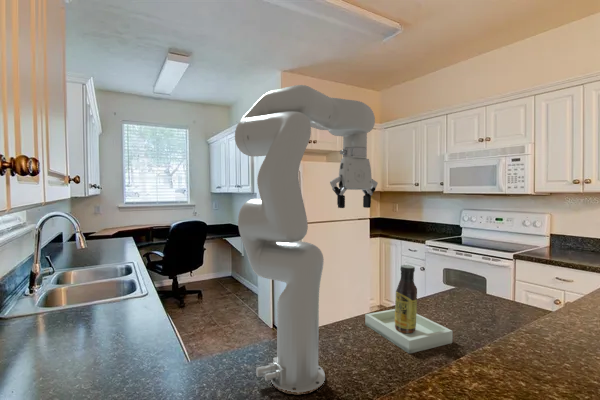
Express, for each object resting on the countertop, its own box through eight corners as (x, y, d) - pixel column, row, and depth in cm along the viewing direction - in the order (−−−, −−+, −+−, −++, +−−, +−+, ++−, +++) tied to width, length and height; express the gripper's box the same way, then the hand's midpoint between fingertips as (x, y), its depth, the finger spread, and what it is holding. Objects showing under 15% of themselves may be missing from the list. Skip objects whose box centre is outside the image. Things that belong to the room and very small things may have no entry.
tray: (409, 353, 83) (409, 340, 83) (365, 324, 101) (365, 314, 101) (452, 342, 89) (452, 330, 89) (403, 317, 108) (403, 307, 108)
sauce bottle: (390, 327, 97) (391, 264, 97) (406, 324, 99) (407, 262, 99) (404, 336, 91) (405, 269, 91) (421, 333, 93) (422, 267, 93)
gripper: (337, 151, 93) (336, 208, 93) (384, 154, 100) (383, 208, 100) (325, 154, 100) (325, 207, 100) (370, 157, 107) (369, 207, 107)
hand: (354, 207), depth 100 cm, fingers open, 9 cm apart
